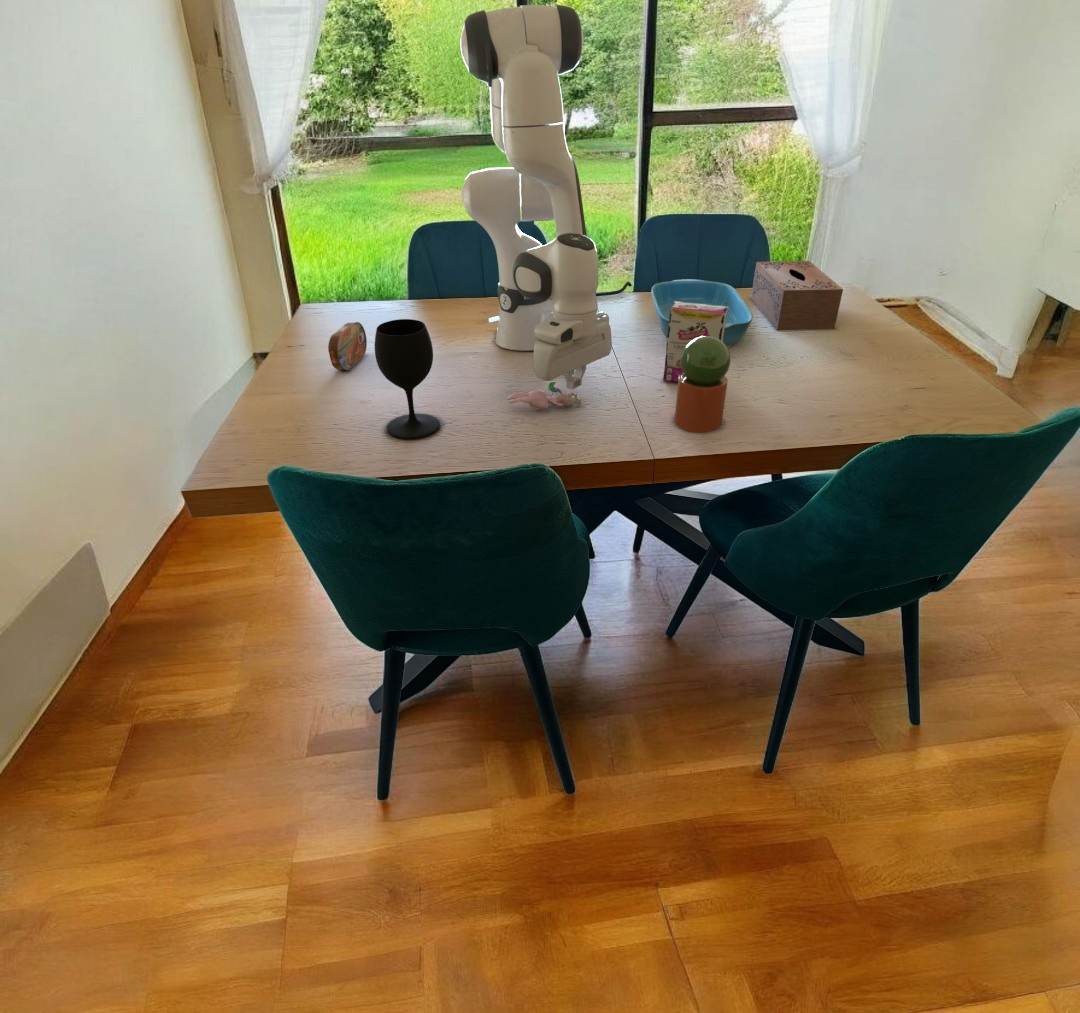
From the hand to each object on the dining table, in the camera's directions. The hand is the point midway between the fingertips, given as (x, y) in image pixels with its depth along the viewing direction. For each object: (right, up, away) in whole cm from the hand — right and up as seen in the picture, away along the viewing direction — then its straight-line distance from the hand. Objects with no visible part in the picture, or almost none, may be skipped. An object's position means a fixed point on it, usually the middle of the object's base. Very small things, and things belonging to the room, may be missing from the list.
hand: (574, 387), depth 149 cm
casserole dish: (+33, +21, +34) cm, 51 cm away
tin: (-51, +8, +18) cm, 55 cm away
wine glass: (-32, -10, -10) cm, 34 cm away
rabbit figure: (-6, -5, -4) cm, 9 cm away
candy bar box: (+25, +2, +6) cm, 26 cm away
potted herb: (+24, -8, -10) cm, 27 cm away
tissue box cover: (+60, +27, +42) cm, 78 cm away
